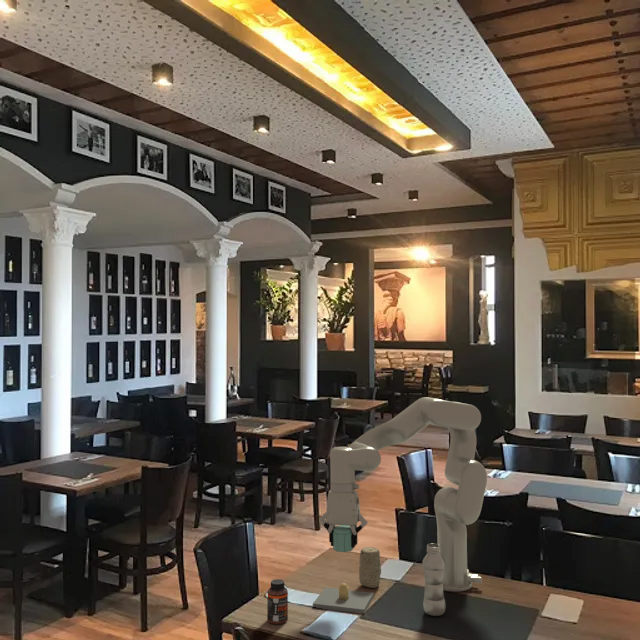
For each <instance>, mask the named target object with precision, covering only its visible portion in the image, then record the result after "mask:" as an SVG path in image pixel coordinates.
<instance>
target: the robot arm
mask: <svg viewBox="0 0 640 640" xmlns="http://www.w3.org/2000/svg"><path fill="white" fill-rule="evenodd" d="M481 422H482V414H481V411H480V409H478V407H476V406H475V405H473V404H468V403H462V402H458V401H450V400H444V399H439V398H435V397H428V396H426V397H425V396H424V397H423V396H422V397H420V398H418V399H417V400H415V401H414V402H413V403H411V404H409V406H408V407H406V408H405V409H404V410H402V411H401V412H400V413H398V414H397V415H396V416H394V417H393V418H391V419H390V420H389V421H386V422H383V423H381V424H379V425H378V426H375V427H373V428H371V429H369V430H367V431H366V432H364V433H363V434H362V435H360V436H359V437H358V438H356V439H355V440H354V441H352V443H350V445H349V446H335V447H333V448H331V450H330V453H329V456H330V457H329V459H330V461H329V462H330V463H329V464H330V465H329V466H330V469H329V470H330V490H329V491H328V492H327V493H328V494H327V498H326V500H327V501H326V511H325V513H323V514H322V515H321V517H320V518H318V519H319V520H318V521H319V522H320V524H322V525H323V527H324V528H325V529H326V530H327V533H328V535H329V536H328V541H329V543H330V547H333V532H334V529H333V528H334V527H335V526H339V525H347V526H350V527H351V530H352V535H351V547H352V548H354V549H355V548H356V546H357V545H358V534H359V532H360V531H362V529H364V528H365V527H366V526H367V525H368V520H367V519H365V517H364V516H363V515H362V514H361V506H360V499H359V498H360V497H359V493H358V490H360V484H357V483H356V481H355V480H356V479H355V474H356V473H355V471H363V472H371V471H374V470H376V469H377V468H378V467H379V466H380V464H381V462H382V457H381V454H380V452H379V450H381V449H383V448H387V447H389V446H395V445H399V444H404V443H406V442H408V441H410V440H411V439H412V438H413V437H415V436H416V435H418V433H420V432H421V431H423V430H424V429H425V428H427V426H429V425H432V426H437V427H441V428H445V429H446V428H447V429H448V432H449V435H450V442H449V448H448V453H447V456H446V457H447V458H446V462H445V468H444V475H445V478H446V480H447V481H448V482H450V483H451V484H454V485H456V486H458V488H455V487H451V486H446V487H443V488H440V489H439V490H438V491H437V492H436V494H435V495H434V502H433V503H434V504H433V505H434V512H435V518H436V526H437V527H436V529H437V532H436V533H437V534H436V536H437V539H436V540H437V544H438V545H439V550H440V553H439V555H440V556H441V557H442V559H443V561H444V574H443V591H446V592H451V593H452V592H456V593H457V592H458V593H460V592H466V591H468V590H470V589H472V587H473V583H475V584H482V577H481V576H479V575H478V574H472V573H470V570H469V569H468V551H467V550H468V549H467V548H468V546H467V545H468V543H467V542H468V541H467V537H468V536H467V535H468V533H467V526H469V525H472V524H473V523H475V522H476V521H477V520H478V519H479V517H480V515H481V511H482V507H483V503H484V497H485V495H486V494H485V493H486V488H487V482H488V475H487V471H486V468H485V467H484V465H483V464H482V463H481V462H479V461H478V460H476V459H475V457H476V456H475V455H476V449H477V435H476V432H475V430H476V429H477V428H478V427H479V426H480V423H481ZM359 522H360V524H359V525H358V523H359ZM466 525H467V526H466Z"/></svg>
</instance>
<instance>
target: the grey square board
mask: <svg viewBox="0 0 640 640" xmlns="http://www.w3.org/2000/svg"><path fill="white" fill-rule="evenodd" d="M349 587H350V586H349V585H348V584H347V583H345V582H342V583H341V584H340V585H339V586H338V588H332V587H324V589H323V590H322V591H321V592H320V594H318V596H317V597H316V598H315V600H314V601H313V603H312V608H313V607H316V608H315V609H321V608H322V609H323V610H332V611H340V612H347V613H354V614H355V613H356V614H365V612H366V611H367V610H368V608H369V606H370V604H371V602H372V601H373V599H374V597H375V596H374V595H375V594H374V593H375V592H370V591H359V590H354V589H353V590H350V589H349Z"/></svg>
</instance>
